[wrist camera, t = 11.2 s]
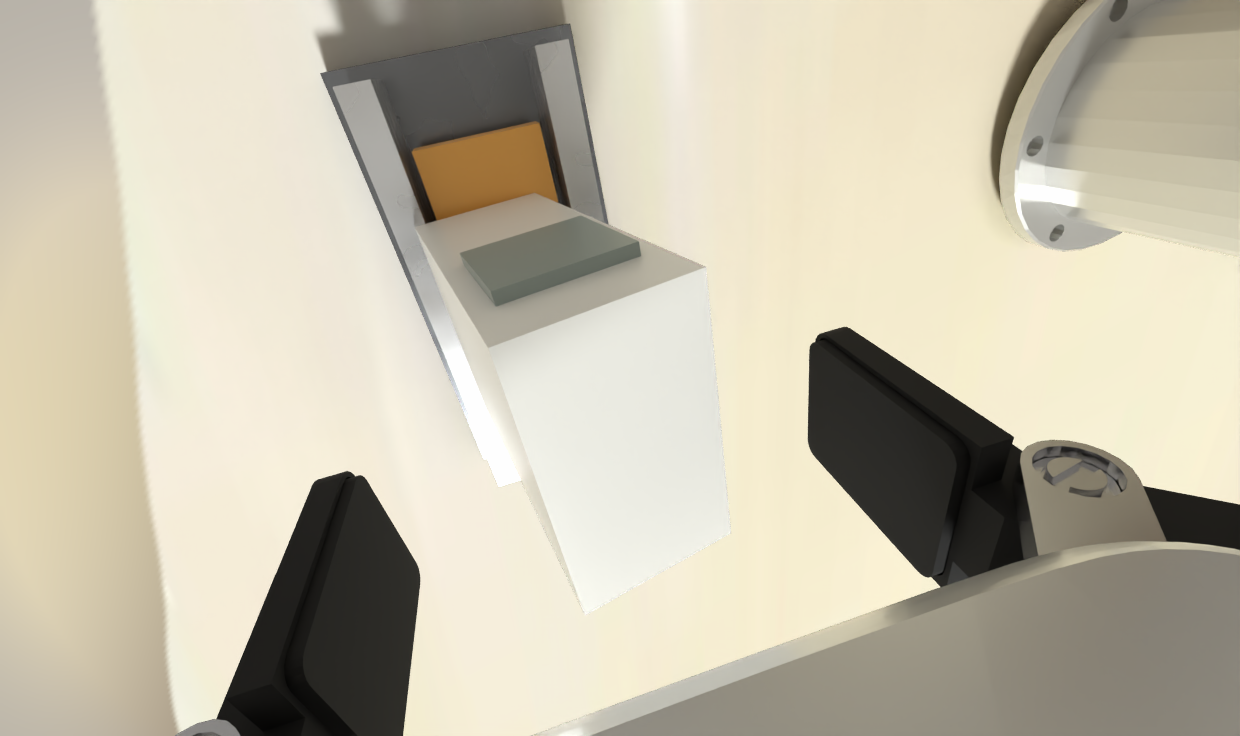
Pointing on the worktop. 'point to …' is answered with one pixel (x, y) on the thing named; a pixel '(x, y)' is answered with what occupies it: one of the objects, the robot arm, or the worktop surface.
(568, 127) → the rail
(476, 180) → the orange rectangular panel
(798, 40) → the worktop surface
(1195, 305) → the worktop surface
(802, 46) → the worktop surface
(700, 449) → the block
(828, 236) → the worktop surface
